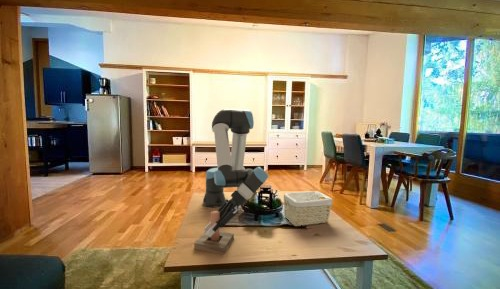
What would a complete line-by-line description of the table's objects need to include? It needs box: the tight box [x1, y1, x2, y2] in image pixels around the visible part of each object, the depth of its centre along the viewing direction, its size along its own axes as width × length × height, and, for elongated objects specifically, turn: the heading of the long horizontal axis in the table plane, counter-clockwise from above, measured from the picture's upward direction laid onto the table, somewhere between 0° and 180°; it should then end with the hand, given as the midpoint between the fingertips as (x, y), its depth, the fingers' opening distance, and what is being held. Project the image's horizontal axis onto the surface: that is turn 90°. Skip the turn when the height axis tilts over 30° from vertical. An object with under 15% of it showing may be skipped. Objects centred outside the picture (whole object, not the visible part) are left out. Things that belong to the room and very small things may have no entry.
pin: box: [210, 210, 221, 242], centre depth 121 cm, size 4×4×13 cm
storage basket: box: [283, 190, 333, 227], centre depth 151 cm, size 24×16×15 cm
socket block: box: [193, 230, 235, 255], centre depth 122 cm, size 14×14×3 cm
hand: (206, 233), depth 120 cm, fingers closed on pin, 4 cm apart
